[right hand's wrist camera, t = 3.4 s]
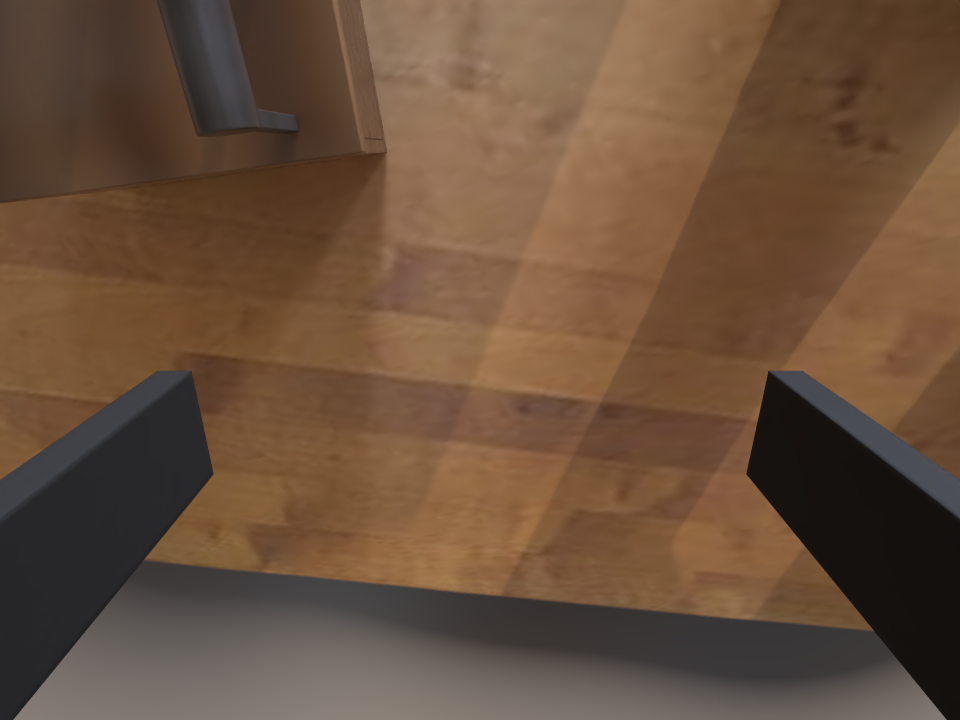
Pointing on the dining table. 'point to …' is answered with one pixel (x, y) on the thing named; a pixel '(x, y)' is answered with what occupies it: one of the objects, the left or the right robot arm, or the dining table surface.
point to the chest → (363, 92)
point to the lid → (168, 90)
